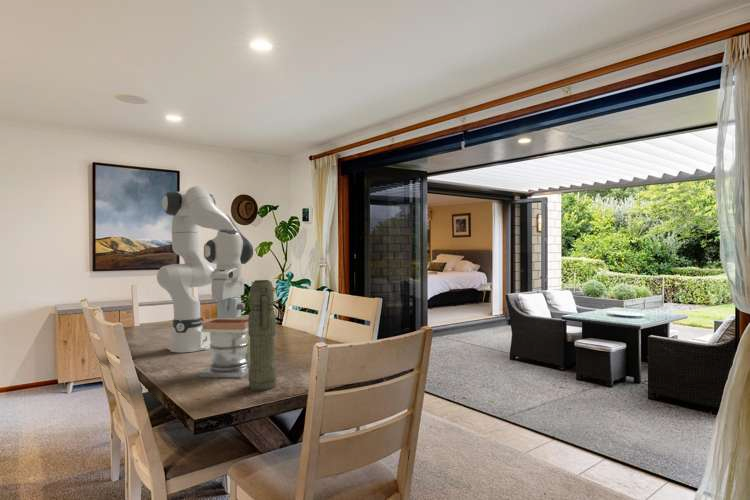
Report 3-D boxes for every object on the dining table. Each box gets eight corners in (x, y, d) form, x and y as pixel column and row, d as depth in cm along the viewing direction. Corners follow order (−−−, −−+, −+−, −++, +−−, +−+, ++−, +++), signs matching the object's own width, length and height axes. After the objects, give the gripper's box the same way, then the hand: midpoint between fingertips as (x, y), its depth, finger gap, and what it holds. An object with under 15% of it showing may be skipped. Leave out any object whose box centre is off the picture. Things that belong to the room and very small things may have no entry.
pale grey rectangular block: (223, 315, 169) (223, 297, 169) (246, 316, 168) (246, 297, 168) (217, 317, 164) (217, 298, 164) (240, 318, 163) (240, 299, 163)
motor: (219, 365, 175) (218, 317, 175) (258, 365, 173) (258, 318, 173) (198, 376, 159) (198, 324, 159) (241, 377, 157) (241, 325, 157)
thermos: (254, 393, 140) (253, 282, 140) (244, 384, 150) (243, 280, 150) (281, 389, 144) (280, 281, 144) (270, 380, 154) (269, 279, 154)
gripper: (232, 271, 177) (233, 306, 177) (207, 274, 156) (208, 313, 156) (248, 271, 176) (248, 306, 176) (225, 274, 156) (225, 314, 156)
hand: (229, 310), depth 166 cm, fingers closed on pale grey rectangular block, 5 cm apart
